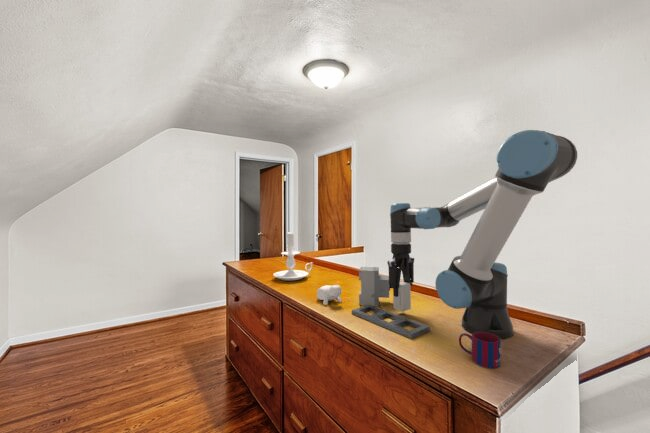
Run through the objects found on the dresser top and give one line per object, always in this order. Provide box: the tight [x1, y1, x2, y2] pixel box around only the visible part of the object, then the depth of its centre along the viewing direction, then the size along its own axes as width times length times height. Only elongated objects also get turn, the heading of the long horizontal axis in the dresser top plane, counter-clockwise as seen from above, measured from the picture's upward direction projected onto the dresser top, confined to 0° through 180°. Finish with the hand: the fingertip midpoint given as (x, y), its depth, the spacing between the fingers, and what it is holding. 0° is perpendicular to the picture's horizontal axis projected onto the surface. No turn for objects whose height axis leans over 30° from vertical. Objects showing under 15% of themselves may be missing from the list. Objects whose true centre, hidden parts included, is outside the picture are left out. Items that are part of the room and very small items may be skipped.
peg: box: [392, 280, 412, 312], centre depth 113 cm, size 5×5×10 cm
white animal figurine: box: [316, 284, 343, 306], centre depth 129 cm, size 9×8×15 cm
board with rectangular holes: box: [351, 305, 431, 340], centre depth 106 cm, size 28×10×2 cm, turn 37°
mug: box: [458, 332, 502, 369], centre depth 79 cm, size 7×10×7 cm
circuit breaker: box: [358, 266, 393, 307], centre depth 127 cm, size 8×14×15 cm, turn 78°
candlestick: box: [273, 231, 314, 282], centre depth 172 cm, size 21×25×28 cm
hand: (402, 302), depth 113 cm, fingers closed on peg, 5 cm apart
